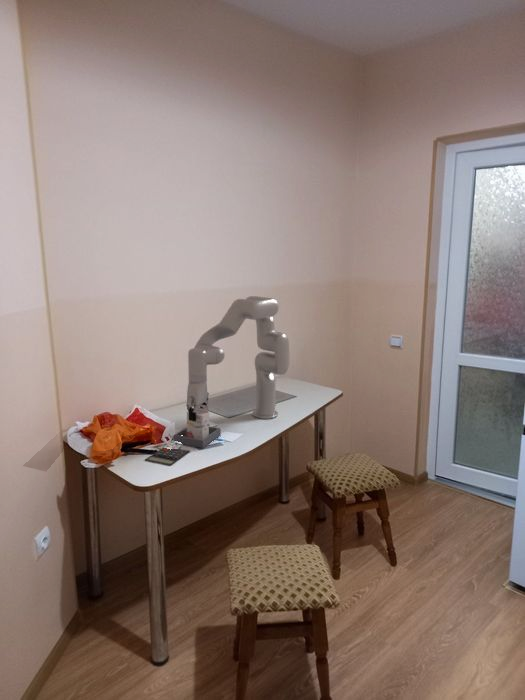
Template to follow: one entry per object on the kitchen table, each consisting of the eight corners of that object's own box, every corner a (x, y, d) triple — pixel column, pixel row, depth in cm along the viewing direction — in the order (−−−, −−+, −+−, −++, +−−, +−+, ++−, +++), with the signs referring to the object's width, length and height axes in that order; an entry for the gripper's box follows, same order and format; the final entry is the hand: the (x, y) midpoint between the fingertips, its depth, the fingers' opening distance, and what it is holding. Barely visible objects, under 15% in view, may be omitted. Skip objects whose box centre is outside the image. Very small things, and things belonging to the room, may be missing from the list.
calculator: (190, 450, 204) (170, 464, 190) (190, 452, 204) (170, 467, 190) (165, 445, 208) (144, 459, 194) (165, 447, 208) (144, 461, 194)
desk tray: (192, 431, 226) (192, 423, 226) (220, 436, 221) (220, 428, 221) (173, 443, 212) (173, 435, 211) (202, 449, 207) (203, 440, 206)
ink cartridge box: (186, 438, 217) (186, 405, 214) (193, 434, 221) (193, 402, 218) (202, 442, 212) (202, 408, 209) (209, 438, 217) (209, 405, 214)
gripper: (199, 372, 221) (200, 409, 224) (179, 382, 205) (179, 422, 208) (215, 374, 218) (215, 411, 221) (195, 384, 202) (195, 424, 206)
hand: (198, 416), depth 215 cm, fingers open, 9 cm apart
